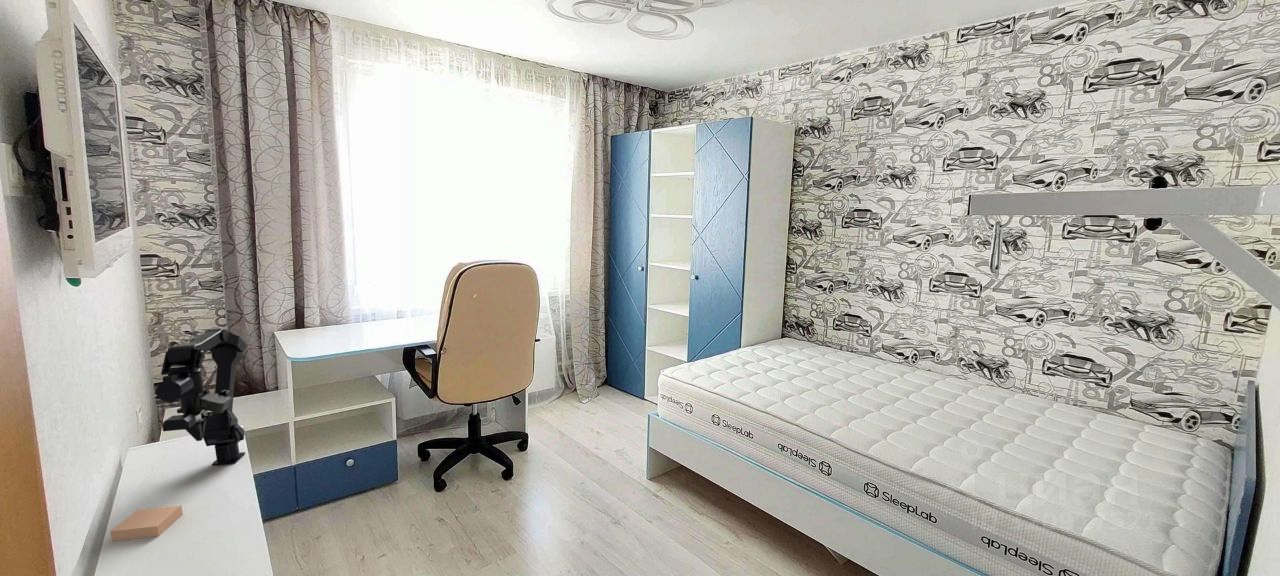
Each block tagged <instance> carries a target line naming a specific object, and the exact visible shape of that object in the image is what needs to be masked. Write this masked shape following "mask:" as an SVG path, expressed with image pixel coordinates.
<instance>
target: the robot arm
mask: <svg viewBox="0 0 1280 576" xmlns="http://www.w3.org/2000/svg"><path fill="white" fill-rule="evenodd" d="M246 346H247V345H246V342H245V341H244V339H242V338H241V336H239V335H238V334H234V333H232V332H229V330H227V329H226V328H214V329H208V330H205V332H204V333H202V334H201V335H199V336H197V337H196V338H193V340H190V341H189V342H186V343H182V344H181V343H180V344H176V345H172V346H170V347H168V349H167V351H166V352H165V354H164V358H163V363H162V367H161V368H162V369H161V373H160V374H161V375H162V376H163V377H162V382H160V383H159V384H158V385H157V386H156V390H155V395H156V397H157V398H158V399H159V400H161V401H162V402H166V403H167V402H168V403H171V402H172V403H173V402H176V401H178V402H179V408H178V409H176V413H177V415H176V414H175V415H172V416H170V417H168V418H166V419H165V420H164V421H163V422H162V423H161V430H162V431H163V432H171V431H172V432H173V431H181V430H183V431H184V430H185V431H186V432H187V433H188V435H190V436H191V437H192V438H193V439H194V440H195V441H196V442H200V441H203V442H204V443H205V445H206V447H210V446H214V450H215V456H216V457H215V458H216V460H214V461H213V462H212V463H211V466H220V465H231V464H236V463H237V462H238V461H239V460H241V458H242V457H244V456H245V455H246V452H244V451H243V452H241V451H240V448H239V443H240V442H242V441H243V440H245V434H246V433H245V428H243V427H242V426H241V425H239V421H238V420H239V419H238V418H237V416H236V415H235V413H234V411H233V407H234V405H233V404H234V393H235V383H236V371H237V370H236V369H237V366H238V364H240V362H241V361H242V360H243V358H244V353H245V351H246ZM207 352H210V353H211V359H212V360H213V361H214V363H215V364H216V375H215V386H214V394H213V393H211V391H210V389H209V388H207V387H206V388H205V385H204V380H203V373H202V370H201V369H203V368H204V365H203V362H204V360H205V358H206V353H207Z"/></svg>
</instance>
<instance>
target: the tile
mask: <svg viewBox="0 0 1280 576" xmlns="http://www.w3.org/2000/svg"><path fill="white" fill-rule="evenodd" d="M183 513H184V512H183V507H182V504H180V505H172V506H171V505H170V506H163V507H162V506H161V507H153V508H151V507H150V508H143V509H141V508H140V509H136V510H135V511H134V512H133V513H131V514H130V515H129V516H127V518H125V519H123V521H121V522H120V523H119V524H118V525H116V526H114V528H112V529H111V530H110V531H109V533H110V537H111V541H112V542H116V541H117V542H118V541H125V540H136V539H143V538H153V537H160V536H161V535H162V534H163V533H164V532H165V531H167V530H168V529H169V528H170V527H171V526H172V525H173V524H174V523H175V522H177V521H178V520H179V519H180V518H182V516H183V515H184V514H183Z"/></svg>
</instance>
